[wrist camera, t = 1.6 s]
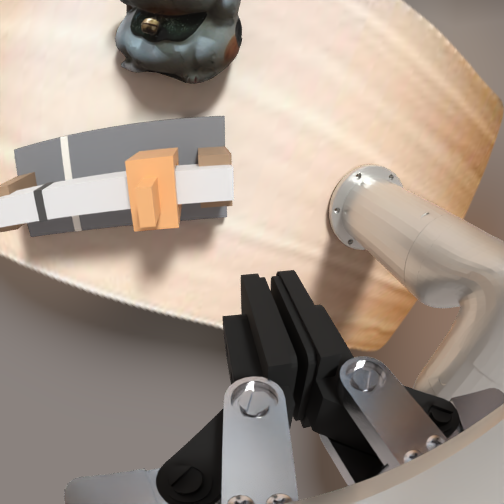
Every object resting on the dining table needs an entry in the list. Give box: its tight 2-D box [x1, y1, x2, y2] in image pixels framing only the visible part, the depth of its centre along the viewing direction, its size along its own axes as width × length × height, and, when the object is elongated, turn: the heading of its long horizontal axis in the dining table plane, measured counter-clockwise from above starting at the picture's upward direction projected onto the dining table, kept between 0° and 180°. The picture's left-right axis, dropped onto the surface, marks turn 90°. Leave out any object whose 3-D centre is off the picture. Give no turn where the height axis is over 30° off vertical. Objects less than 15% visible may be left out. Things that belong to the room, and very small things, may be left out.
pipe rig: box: [0, 116, 234, 237], centre depth 28 cm, size 27×12×10 cm, turn 90°
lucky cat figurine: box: [115, 0, 242, 83], centre depth 20 cm, size 15×12×14 cm
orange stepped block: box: [125, 147, 182, 232], centre depth 24 cm, size 4×6×10 cm, turn 0°
